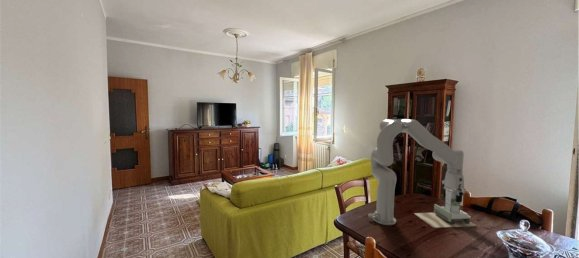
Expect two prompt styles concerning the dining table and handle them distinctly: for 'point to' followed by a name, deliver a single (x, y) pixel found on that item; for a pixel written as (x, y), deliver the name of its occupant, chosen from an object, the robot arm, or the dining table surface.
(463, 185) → the robot arm
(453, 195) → the syrup box
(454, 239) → the dining table surface
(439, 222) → the cream tray
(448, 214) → the pale grey flat box
